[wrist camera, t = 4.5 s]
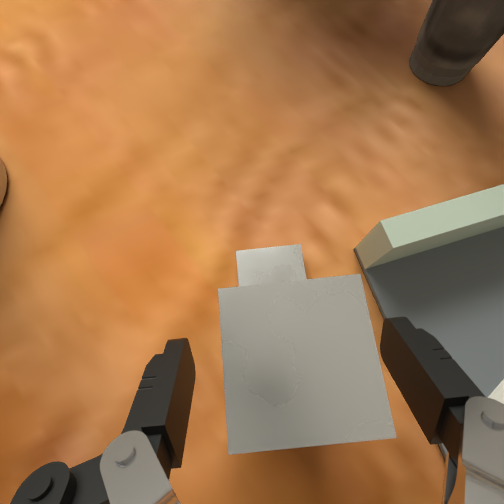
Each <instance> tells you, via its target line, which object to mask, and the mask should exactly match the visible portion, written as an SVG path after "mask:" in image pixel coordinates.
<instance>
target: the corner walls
mask: <svg viewBox="0 0 504 504" xmlns="http://www.w3.org/2000/svg"><path fill="white" fill-rule="evenodd" d="M501 227H504V184H502V185H499V186H496V187H492V188H489V189H485V190H482V191H479V192H475V193H472V194H469V195H465V196H462V197H459V198H455V199H452V200H449V201H445V202H442V203H439V204H435V205H432V206H428V207H425V208H422V209H418V210H415V211H412V212H408V213H405V214H402V215H398V216H395V217H392V218H388V219H385V220H381V221H380V222H379V223H378V224H377V225H376V226H375V227H374V228H373V229H372V230H371V231H370V232H369V233H368V234H367V236H366V237H365V238H364V239H363V240H362V241H361V242H360V243H359V244H358V245H357V246H356V247H355V248H356V250H357V252H358V254H359V257H360V259H361V261H362V263H363V266H364V268H365V269H367V268H371V267H374V266H377V265H380V264H384V263H387V262H390V261H394V260H397V259H400V258H403V257H407V256H410V255H413V254H416V253H420V252H423V251H426V250H429V249H433V248H436V247H439V246H442V245H446V244H449V243H452V242H456V241H459V240H462V239H465V238H469V237H472V236H475V235H478V234H482V233H485V232H488V231H491V230H495V229H498V228H501Z"/></svg>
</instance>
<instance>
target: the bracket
mask: <svg viewBox="0 0 504 504" xmlns="http://www.w3.org/2000/svg"><path fill="white" fill-rule="evenodd" d="M236 257H237V269H238V280H239V287H230V288H221V289H218V293H219V309H220V325H221V341H222V357H223V373H224V389H225V405H226V421H227V437H228V453H229V455H231V454H241V453H251V452H261V451H271V450H281V449H291V448H301V447H311V446H321V445H331V444H340V443H350V442H360V441H370V440H380V439H390V438H397V437H396V433H395V428H394V423H393V419H392V414H391V410H390V405H389V401H388V396H387V392H386V387H385V383H384V378H383V374H382V369H381V365H380V360H379V356H378V351H377V347H376V342H375V337H374V333H373V328H372V324H371V319H370V315H369V310H368V306H367V301H366V297H365V292H364V288H363V283H362V279H361V274H354V275H345V276H335V277H326V278H316V279H307V280H306V273H305V267H304V261H303V255H302V248H301V244H297V245H288V246H278V247H269V248H259V249H250V250H241V251H236Z"/></svg>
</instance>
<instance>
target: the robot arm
mask: <svg viewBox="0 0 504 504" xmlns="http://www.w3.org/2000/svg"><path fill="white" fill-rule="evenodd" d="M6 187H7V174H6V168H5V166H4V164H3V162H2V160H1V159H0V206H1V204H2V202H3V199H4V196H5V193H6ZM380 352H381V356H382V359H383V361H384V363H385V365H386V367H387V369H388V370H389V372H390V374H391V376H392V378H393V379H394V381H395V383H396V385H397V386H398V388H399V390H400V392H401V393H402V395H403V397H404V399H405V401H406V402H407V404H408V406H409V408H410V409H411V411H412V413H413V415H414V417H415V418H416V420H417V422H418V424H419V425H420V427H421V429H422V431H423V432H424V434H425V436H426V438H427V440H428V441H429V443H430V445H431V444H441V443H443V444H444V446H445V448H446V449H447V451H448V453H447V456H446V465H445V474H444V484H443V494H442V503H441V504H504V404H503V403H501V402H499V401H497V400H494V399H491V398H488V397H486V396H485V395H484V394H483V393H482V392H481V391H480V389H479V388H478V387H477V386H476V385H475V384H474V382H473V381H472V380H471V379H470V378H469V376H468V375H467V374H466V373H465V372H464V371H463V369H462V368H461V367H460V366H459V365H458V363H457V362H456V361H455V360H453V359H452V356H451V355H450V354H449V353H448V352H447V351H446V350H445V349H444V347H443V346H442V345H441V343H440V342H439V341H438V340H437V339H436V338H435V337H434V336H433V335H431V334H430V333H428V332H427V331H425V330H424V329H422V328H418V329H416V328H415V327H414V325H413V324H412V323H411V322H410V320H409V319H408V318H407V317H405V316H403V317H393V318H385V319H384V322H383V329H382V336H381V343H380ZM194 384H195V364H194V360H193V356H192V352H191V348H190V345H189V341H188V339H187V338H181V339H172V340H168V341H167V343H166V346H165V350H164V353H163V354H156V355H155V356H154V357H153V358H152V359H151V360H150V362H149V363H148V364H147V365H146V368H145V371H144V373H143V376H142V380H141V382H140V385H139V387H138V388H139V389H138V390H137V393H136V396H135V399H134V401H133V404H132V407H131V410H130V412H129V415H128V418H127V421H126V424H125V426H124V429H123V431H122V433H121V435H119V436H118V437H117V438H115V439H114V440H113V441H112V442H111V443H110V444H109V445H108V446H107V448H106V449H105V451H104V453H103V454H101V455H99V456H97V457H95V458H93V459H91V460H89V461H86V462H84V463H82V464H79V465H77V466H75V467H72V468H70V469H69V468H68V466H67V465H66V464H65V463H63V462H51V463H48V464H46V465H44V466H42V467H40V468H39V469H37V470H36V471H34V472H33V473H32V474H31V475H30V476H29V477H28V478H27V479H26V480H25V481H24V482H23V483H22V484H21V486H20V487H19V489H18V490H17V492H16V494H15V495H14V497H13V499H12V501H11V503H10V504H180V502H179V500H178V498H177V496H176V494H175V493H174V491H173V489H172V487H171V485H170V483H169V477H170V471H171V469H172V468H181V464H182V458H183V452H184V446H185V439H186V433H187V427H188V421H189V415H190V409H191V402H192V396H193V390H194Z"/></svg>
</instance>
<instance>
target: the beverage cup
mask: <svg viewBox="0 0 504 504" xmlns="http://www.w3.org/2000/svg"><path fill="white" fill-rule="evenodd" d="M503 34H504V0H433V1H432V3H431V6H430V8H429V11H428V13H427V15H426V18H425V20H424V23H423V25H422V28H421V30H420V33H419V35H418V38H417V42H416V45H415V48H414V50H413V52H412V54H411V57H410V67H411V69H412V71H413V73H414V74H415V75H416V76H417V77H418V78H419V79H421V80H423V81H425V82H426V83H429V84H433V85H437V86H448V85H453V84H456V83H457V82H459V81H461V80H462V79H463V78H464V77H465V76H466V74H467V73H468V72H469V71H470V70H471V69H472V68H473V67H474V66H475V65H476V64H477V63H478V62H479V61H480V60H481V59H482V58H483V57H484V56H485V54H486V53H487V52H488V51H489V50H490V49H491V48H492V46H493V45H494V44H495V43H496V42H497V41H498V40H499V38H500V37H501V36H502V35H503Z"/></svg>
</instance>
